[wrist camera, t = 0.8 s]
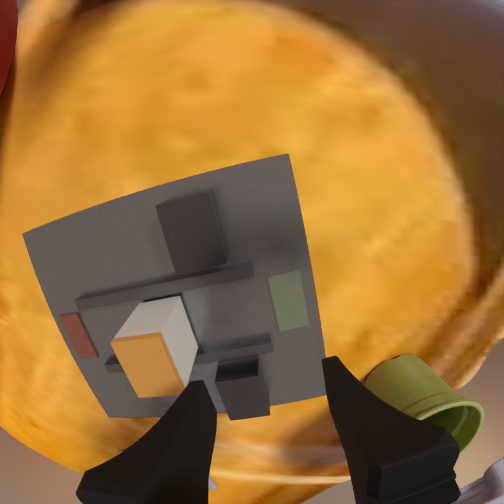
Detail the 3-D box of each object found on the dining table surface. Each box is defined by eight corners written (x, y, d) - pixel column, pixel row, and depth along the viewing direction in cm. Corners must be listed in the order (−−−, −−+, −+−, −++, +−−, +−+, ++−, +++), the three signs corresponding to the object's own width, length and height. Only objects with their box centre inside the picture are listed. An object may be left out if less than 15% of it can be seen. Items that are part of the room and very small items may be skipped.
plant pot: (323, 405, 25) (340, 484, 16) (385, 321, 22) (433, 393, 14) (397, 422, 26) (424, 486, 17) (455, 351, 23) (503, 409, 15)
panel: (114, 407, 25) (102, 431, 22) (33, 229, 20) (6, 240, 17) (327, 382, 24) (334, 411, 20) (286, 153, 19) (292, 152, 15)
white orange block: (159, 352, 21) (138, 397, 16) (139, 303, 20) (110, 342, 15) (198, 346, 21) (184, 394, 16) (179, 295, 20) (158, 336, 15)
